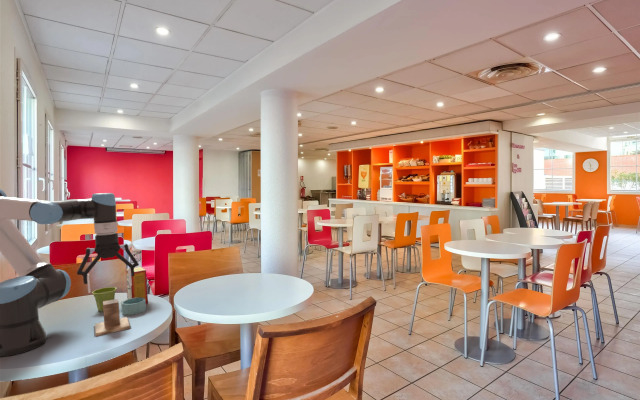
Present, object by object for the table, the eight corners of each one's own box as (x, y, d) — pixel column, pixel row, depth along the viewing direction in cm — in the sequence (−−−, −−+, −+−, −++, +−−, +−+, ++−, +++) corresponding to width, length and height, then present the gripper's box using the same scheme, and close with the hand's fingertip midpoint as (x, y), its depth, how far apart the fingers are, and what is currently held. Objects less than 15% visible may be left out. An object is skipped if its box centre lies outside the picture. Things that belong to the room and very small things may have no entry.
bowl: (123, 317, 148) (122, 306, 148) (121, 311, 156) (120, 300, 155) (147, 312, 153) (146, 301, 153) (144, 307, 161) (143, 296, 160)
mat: (94, 338, 129) (94, 336, 129) (93, 327, 139) (93, 326, 139) (131, 329, 135) (131, 328, 135) (128, 320, 145) (128, 318, 145)
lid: (95, 336, 129) (94, 309, 129) (95, 326, 138) (93, 301, 138) (129, 328, 135) (128, 302, 135) (127, 319, 144) (125, 295, 144)
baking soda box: (127, 301, 169) (125, 268, 168) (142, 298, 173) (140, 266, 173) (132, 306, 162) (130, 272, 161) (148, 303, 166) (146, 269, 165)
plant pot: (109, 312, 155) (108, 293, 154) (88, 313, 155) (87, 293, 155) (122, 305, 164) (121, 286, 164) (102, 305, 164) (100, 287, 164)
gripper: (65, 238, 125) (70, 297, 126) (144, 230, 139) (147, 284, 140) (66, 236, 131) (71, 292, 132) (141, 229, 145) (144, 280, 146)
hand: (110, 288), depth 136 cm, fingers open, 13 cm apart
